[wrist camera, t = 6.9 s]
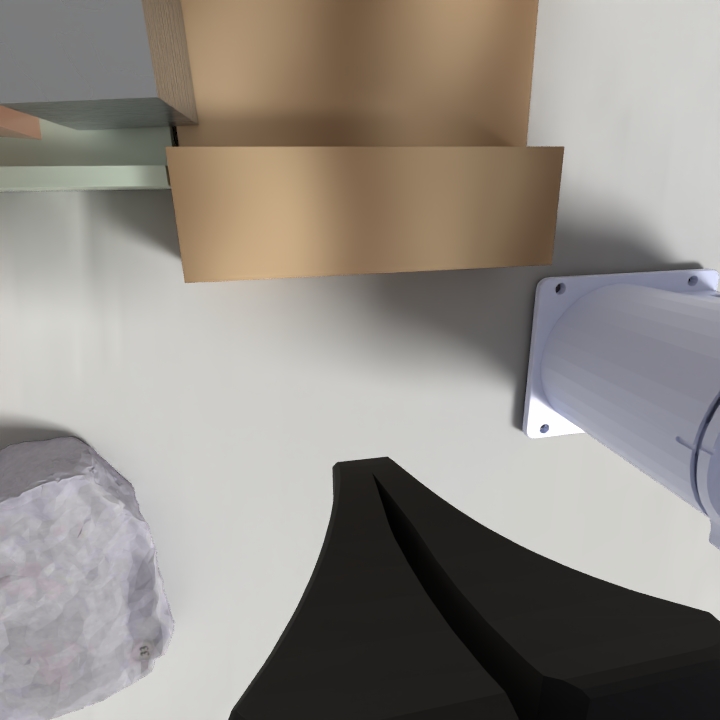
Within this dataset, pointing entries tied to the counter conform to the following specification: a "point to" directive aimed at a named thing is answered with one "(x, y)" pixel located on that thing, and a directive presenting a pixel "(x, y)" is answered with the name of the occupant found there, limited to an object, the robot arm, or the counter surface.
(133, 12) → the grey steel block
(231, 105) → the oak channel board
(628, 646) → the robot arm
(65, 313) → the counter surface
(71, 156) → the sage tray
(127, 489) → the stone block
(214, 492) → the counter surface
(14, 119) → the terracotta block
